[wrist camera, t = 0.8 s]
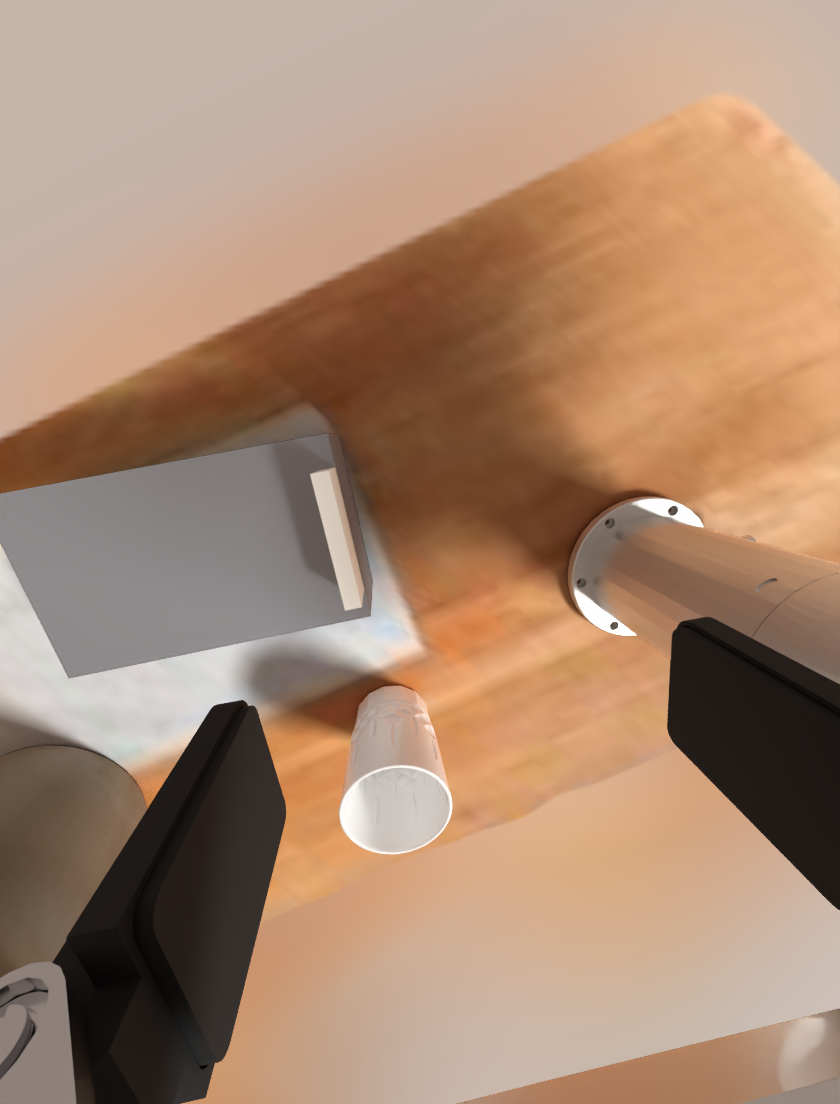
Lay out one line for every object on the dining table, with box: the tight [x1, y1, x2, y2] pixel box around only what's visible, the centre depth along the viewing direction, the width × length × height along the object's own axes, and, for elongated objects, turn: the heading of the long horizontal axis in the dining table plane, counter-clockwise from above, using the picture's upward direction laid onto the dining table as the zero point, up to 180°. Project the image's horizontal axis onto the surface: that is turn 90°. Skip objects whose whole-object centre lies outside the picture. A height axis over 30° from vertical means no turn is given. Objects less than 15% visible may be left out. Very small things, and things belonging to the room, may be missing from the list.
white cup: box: [339, 686, 452, 854], centre depth 32 cm, size 8×8×10 cm
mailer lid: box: [0, 433, 371, 678], centre depth 23 cm, size 20×12×4 cm, turn 100°
